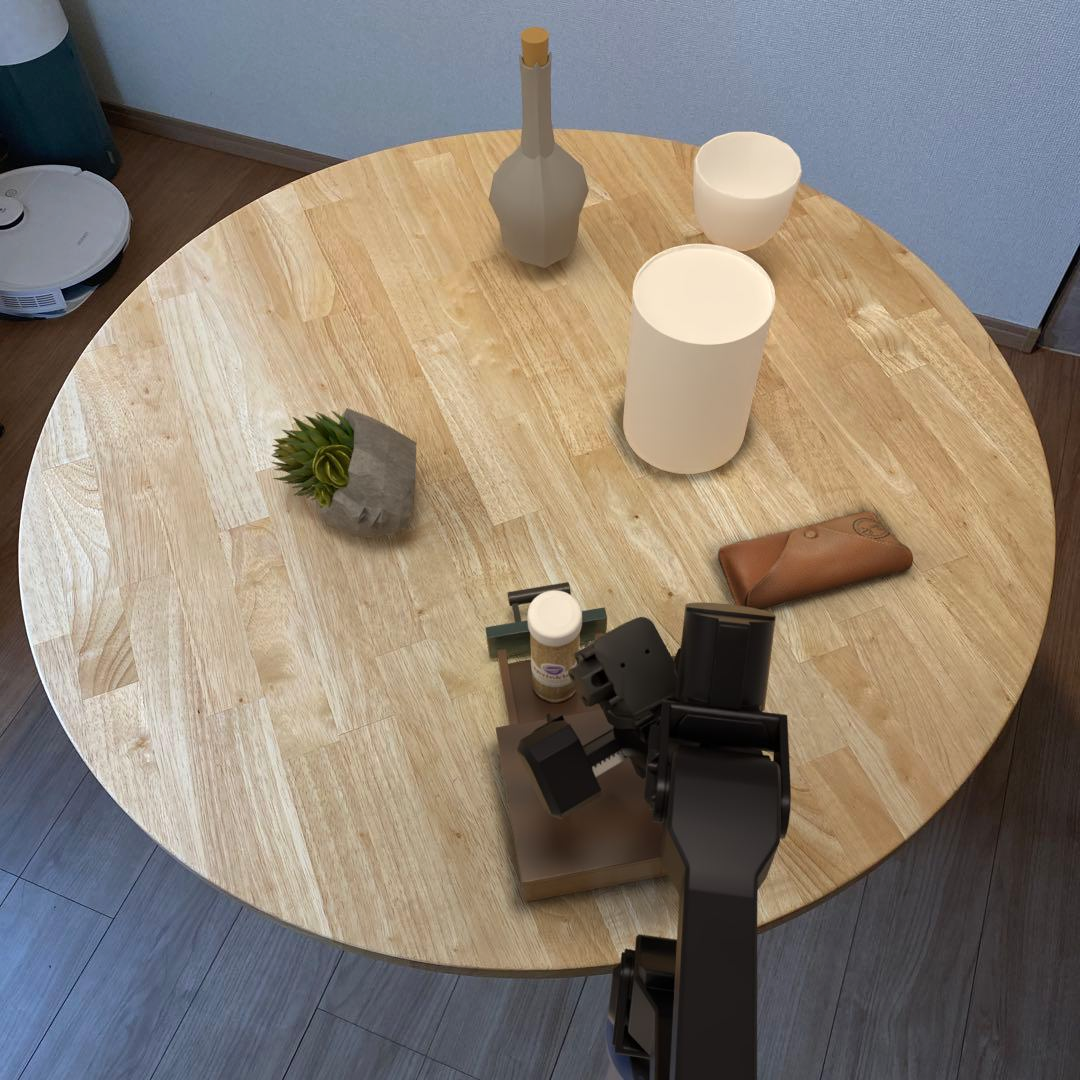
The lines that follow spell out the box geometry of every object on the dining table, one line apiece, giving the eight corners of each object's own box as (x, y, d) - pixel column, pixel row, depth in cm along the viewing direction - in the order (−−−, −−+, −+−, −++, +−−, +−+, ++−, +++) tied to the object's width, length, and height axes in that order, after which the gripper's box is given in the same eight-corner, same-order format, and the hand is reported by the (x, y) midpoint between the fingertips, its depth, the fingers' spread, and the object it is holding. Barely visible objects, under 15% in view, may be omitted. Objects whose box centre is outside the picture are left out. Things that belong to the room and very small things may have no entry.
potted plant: (402, 560, 104) (249, 528, 101) (404, 523, 116) (268, 494, 114) (428, 443, 101) (271, 408, 98) (428, 418, 113) (288, 386, 110)
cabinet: (499, 753, 96) (495, 727, 91) (633, 729, 97) (636, 702, 92) (524, 902, 89) (521, 883, 84) (668, 874, 90) (674, 854, 85)
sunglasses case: (872, 504, 110) (902, 499, 103) (890, 569, 110) (921, 568, 103) (711, 548, 107) (731, 545, 101) (729, 615, 107) (751, 616, 100)
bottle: (506, 226, 135) (493, -1, 110) (592, 236, 134) (598, 9, 109) (486, 287, 129) (467, 62, 104) (576, 298, 128) (579, 73, 103)
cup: (673, 307, 127) (687, 191, 112) (687, 242, 133) (702, 124, 118) (770, 321, 125) (797, 206, 111) (780, 255, 131) (806, 137, 117)
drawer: (481, 611, 103) (478, 589, 100) (594, 592, 104) (595, 570, 101) (508, 769, 94) (506, 752, 91) (632, 747, 95) (634, 729, 92)
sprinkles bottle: (535, 708, 96) (532, 640, 85) (527, 664, 99) (522, 592, 88) (584, 699, 97) (587, 631, 86) (575, 656, 99) (576, 584, 88)
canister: (767, 413, 117) (800, 279, 101) (704, 494, 112) (728, 366, 95) (665, 362, 122) (680, 225, 105) (599, 436, 116) (605, 304, 99)
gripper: (764, 583, 71) (659, 553, 85) (525, 716, 66) (458, 659, 80) (815, 722, 74) (705, 670, 88) (590, 860, 69) (513, 780, 83)
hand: (598, 691), depth 85 cm, fingers open, 9 cm apart
